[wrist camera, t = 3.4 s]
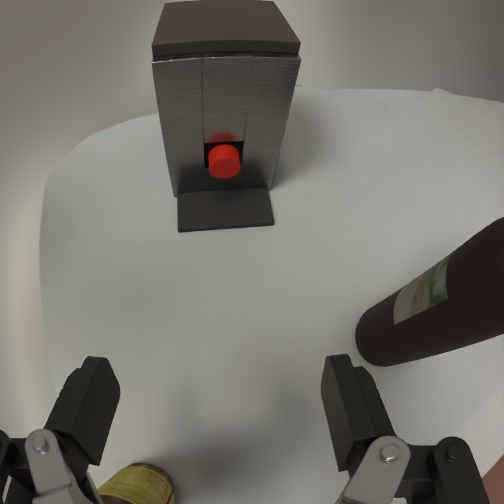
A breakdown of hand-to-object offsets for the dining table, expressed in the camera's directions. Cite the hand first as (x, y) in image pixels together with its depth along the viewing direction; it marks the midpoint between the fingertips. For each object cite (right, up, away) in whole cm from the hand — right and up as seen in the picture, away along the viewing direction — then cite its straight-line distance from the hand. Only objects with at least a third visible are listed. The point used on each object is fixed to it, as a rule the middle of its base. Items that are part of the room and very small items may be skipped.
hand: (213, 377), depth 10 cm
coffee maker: (-3, +15, +29) cm, 33 cm away
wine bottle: (+16, -5, +21) cm, 27 cm away
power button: (-2, +13, +22) cm, 26 cm away
